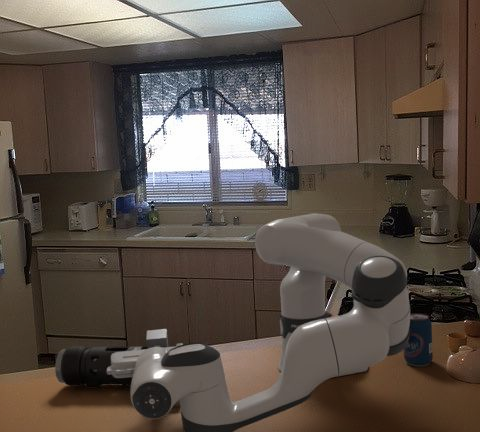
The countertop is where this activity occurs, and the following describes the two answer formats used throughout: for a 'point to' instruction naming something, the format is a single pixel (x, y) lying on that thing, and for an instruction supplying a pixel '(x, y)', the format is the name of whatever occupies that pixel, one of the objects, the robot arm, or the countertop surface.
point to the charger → (157, 338)
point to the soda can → (419, 341)
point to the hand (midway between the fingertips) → (159, 348)
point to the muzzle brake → (89, 366)
